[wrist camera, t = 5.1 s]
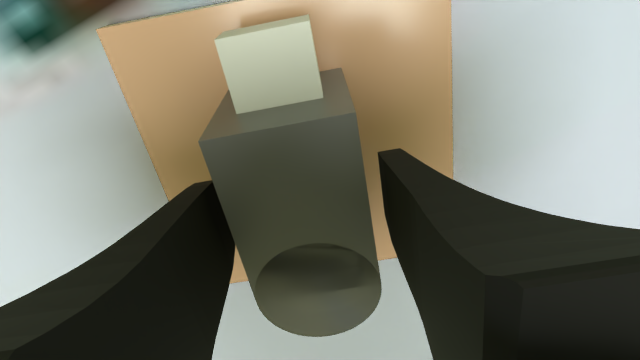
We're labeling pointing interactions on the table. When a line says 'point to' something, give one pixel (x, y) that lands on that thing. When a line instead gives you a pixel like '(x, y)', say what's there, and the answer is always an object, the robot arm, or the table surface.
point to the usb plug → (293, 180)
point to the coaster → (332, 52)
